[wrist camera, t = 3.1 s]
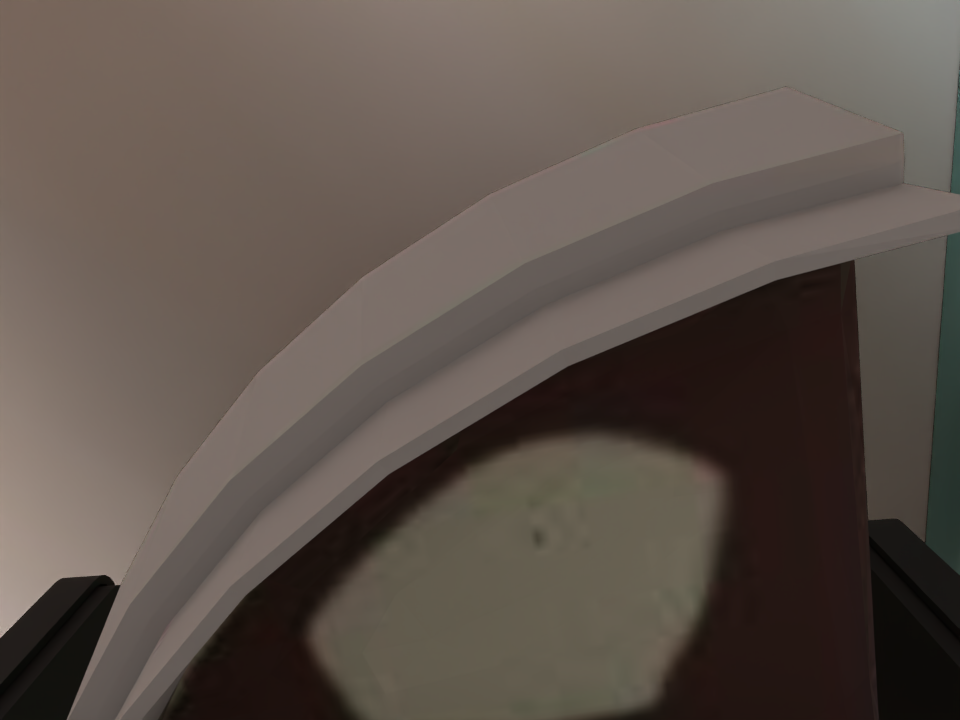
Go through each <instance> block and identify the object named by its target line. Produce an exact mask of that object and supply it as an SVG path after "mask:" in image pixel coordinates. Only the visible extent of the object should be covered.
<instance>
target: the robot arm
mask: <svg viewBox="0 0 960 720" xmlns="http://www.w3.org/2000/svg"><path fill="white" fill-rule="evenodd" d="M868 531H869V549H870V568H871V587H872V605H873V624H874V642H875V661H876V680H877V698H878V714H879V720H960V575H959V574H958V573H957V572H956V571H955V570H953V569H952V568H951V567H950V566H949V565H948V564H947V563H946V562H945V561H944V560H943V559H942V558H940V557H939V556H938V555H937V554H936V553H935V552H934V551H933V550H932V549H931V548H930V547H929V546H927V545H926V544H925V543H924V542H923V541H922V540H921V539H920V538H919V537H918V536H917V535H916V534H914V533H913V532H912V531H911V530H910V529H909V528H908V527H907V526H906V525H905V524H904V523H902V522H901V521H900V520H898V519H882V520H868ZM120 586H121V585H115V584H114V582H113V581H112V579H111V578H110V577H108V576H106V575H101V576H87V577H73V578H62V579H60V580H58V581H57V582H56V583H55V584H54V585H53V586H52V587H51V588H50V589H49V590H48V591H47V592H46V593H45V594H44V595H43V596H42V597H41V598H40V599H39V600H38V601H37V602H36V603H35V604H34V605H33V606H32V607H31V608H30V609H29V610H28V611H27V612H26V613H25V614H24V615H23V616H22V617H21V618H20V619H19V620H18V621H17V622H16V623H15V624H14V625H13V626H12V627H11V628H10V629H9V630H8V631H7V632H6V633H5V634H4V635H3V636H2V637H1V638H0V720H67V718H68V715H69V713H70V710H71V708H72V705H73V703H74V700H75V698H76V695H77V693H78V690H79V688H80V685H81V683H82V680H83V678H84V675H85V673H86V671H87V668H88V666H89V663H90V661H91V658H92V656H93V653H94V651H95V648H96V646H97V643H98V641H99V638H100V636H101V633H102V631H103V628H104V626H105V623H106V621H107V618H108V616H109V613H110V611H111V608H112V606H113V603H114V601H115V598H116V596H117V593H118V591H119V588H120Z"/></svg>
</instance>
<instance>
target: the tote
mask: <svg viewBox="0 0 960 720" xmlns="http://www.w3.org/2000/svg"><path fill="white" fill-rule="evenodd" d="M951 193H954V194H959V195H960V72H959V85H958V99H957V113H956V127H955V141H954V154H953V168H952V182H951ZM925 544H926V545H927V546H929V547H930V548H931V549H932V550H933V551H934V552H935V553H936V554H937V555H938V556H939V557H940V558H942V559H943V560H944V561H945V562H946V563H947V564H948V565H949V566H950V567H951V568H952V569H953V570H955V571H956V572H957V573H958V574H959V575H960V232H958V233H954V234H950V235H948V237H947V251H946V265H945V279H944V293H943V307H942V320H941V334H940V348H939V362H938V376H937V390H936V403H935V417H934V431H933V445H932V459H931V473H930V486H929V500H928V514H927V528H926V542H925Z"/></svg>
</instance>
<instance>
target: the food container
mask: <svg viewBox="0 0 960 720" xmlns="http://www.w3.org/2000/svg"><path fill="white" fill-rule="evenodd" d="M904 163H905V157H904V136H903V132H900V131H898V130H895V129H893V128H890V127H887V126H885V125H882V124H880V123H877V122H875V121H872V120H870V119H867V118H865V117H862V116H860V115H857V114H855V113H852V112H850V111H847V110H844V109H842V108H839V107H837V106H834V105H832V104H829V103H827V102H824V101H822V100H819V99H817V98H814V97H812V96H809V95H806V94H804V93H801V92H799V91H796V90H794V89H791V88H789V87H782V88H779V89H775V90H772V91H768V92H765V93H761V94H757V95H754V96H750V97H747V98H743V99H740V100H736V101H732V102H729V103H725V104H722V105H718V106H715V107H711V108H707V109H704V110H700V111H697V112H693V113H690V114H686V115H682V116H679V117H675V118H672V119H668V120H665V121H661V122H657V123H654V124H650V125H647V126H643V127H640V128H636V129H634V130H631V131H629V132H627V133H625V134H622V135H620V136H618V137H616V138H614V139H611V140H609V141H607V142H605V143H602V144H600V145H598V146H596V147H593V148H591V149H589V150H587V151H584V152H582V153H580V154H578V155H575V156H573V157H571V158H569V159H567V160H564V161H562V162H560V163H558V164H555V165H553V166H551V167H549V168H546V169H544V170H542V171H540V172H537V173H535V174H533V175H531V176H528V177H526V178H524V179H522V180H519V181H517V182H515V183H513V184H511V185H508V186H506V187H504V188H502V189H499V190H497V191H495V192H493V193H490V194H489V195H487V196H486V197H484V198H483V199H481V200H479V201H478V202H476V203H475V204H473V205H472V206H470V207H469V208H467V209H466V210H464V211H463V212H461V213H460V214H458V215H456V216H455V217H453V218H452V219H450V220H449V221H447V222H446V223H444V224H443V225H441V226H440V227H438V228H436V229H435V230H433V231H432V232H430V233H429V234H427V235H426V236H424V237H423V238H421V239H420V240H418V241H417V242H415V243H413V244H412V245H410V246H409V247H407V248H406V249H404V250H403V251H401V252H400V253H398V254H397V255H395V256H394V257H392V258H390V259H389V260H387V261H386V262H384V263H383V264H381V265H380V266H378V267H377V268H375V269H374V270H372V271H370V272H369V273H367V274H366V275H364V276H363V277H362V278H361V279H359V280H358V281H357V282H356V283H355V284H354V285H353V286H352V287H351V288H350V289H349V290H347V291H346V292H345V293H344V294H343V295H342V296H341V297H340V298H339V299H338V300H336V301H335V302H334V303H333V304H332V305H331V306H330V307H329V308H328V309H327V310H325V311H324V312H323V313H322V314H321V315H320V316H319V317H318V318H317V319H316V320H314V321H313V322H312V323H311V324H310V325H309V326H308V327H307V328H306V329H305V330H304V331H302V332H301V333H300V334H299V335H298V336H297V337H296V338H295V339H294V340H293V341H291V342H290V343H289V344H288V345H287V346H286V347H285V348H284V349H283V350H282V351H280V352H279V353H278V354H277V355H276V356H275V357H274V358H273V359H272V360H271V361H269V362H268V363H267V364H266V365H265V366H264V367H263V368H262V369H261V370H260V371H259V372H258V373H257V374H256V375H255V376H254V378H253V379H252V380H251V382H250V383H249V384H248V385H247V387H246V388H245V389H244V391H243V392H242V393H241V394H240V396H239V397H238V398H237V400H236V401H235V402H234V404H233V405H232V406H231V407H230V409H229V410H228V411H227V413H226V414H225V415H224V416H223V418H222V419H221V420H220V422H219V423H218V424H217V425H216V427H215V428H214V429H213V431H212V432H211V433H210V434H209V436H208V437H207V438H206V440H205V441H204V442H203V443H202V445H201V446H200V447H199V449H198V450H197V451H196V452H195V454H194V455H193V456H192V458H191V459H190V460H189V461H188V463H187V464H186V465H185V467H184V468H183V469H182V470H181V472H180V473H179V474H178V476H177V478H176V480H175V481H174V483H173V485H172V487H171V489H170V491H169V493H168V495H167V497H166V499H165V501H164V502H163V504H162V506H161V508H160V510H159V512H158V514H157V516H156V518H155V520H154V522H153V523H152V525H151V527H150V529H149V531H148V533H147V535H146V537H145V539H144V541H143V543H142V544H141V546H140V548H139V550H138V552H137V554H136V556H135V558H134V560H133V562H132V564H131V566H130V567H129V569H128V571H127V573H126V575H125V577H124V579H123V581H122V583H121V586H120V588H119V591H118V593H117V596H116V598H115V601H114V603H113V606H112V608H111V611H110V613H109V616H108V618H107V621H106V623H105V626H104V628H103V631H102V633H101V636H100V638H99V641H98V643H97V646H96V648H95V651H94V653H93V656H92V658H91V661H90V663H89V666H88V668H87V671H86V673H85V675H84V678H83V680H82V683H81V685H80V688H79V690H78V693H77V695H76V698H75V700H74V703H73V705H72V708H71V710H70V713H69V715H68V718H67V720H879V714H878V698H877V680H876V661H875V642H874V624H873V605H872V587H871V568H870V549H869V531H868V512H867V494H866V475H865V456H864V437H863V417H862V398H861V379H860V359H859V340H858V321H857V301H856V282H855V262H854V260H855V259H858V258H862V257H866V256H870V255H874V254H878V253H881V252H885V251H889V250H893V249H897V248H900V247H904V246H908V245H912V244H916V243H920V242H923V241H927V240H931V239H935V238H939V237H942V236H946V235H950V234H954V233H958V232H960V195H959V194H954V193H949V192H944V191H939V190H934V189H929V188H924V187H919V186H914V185H910V184H905V183H903V181H904Z"/></svg>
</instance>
